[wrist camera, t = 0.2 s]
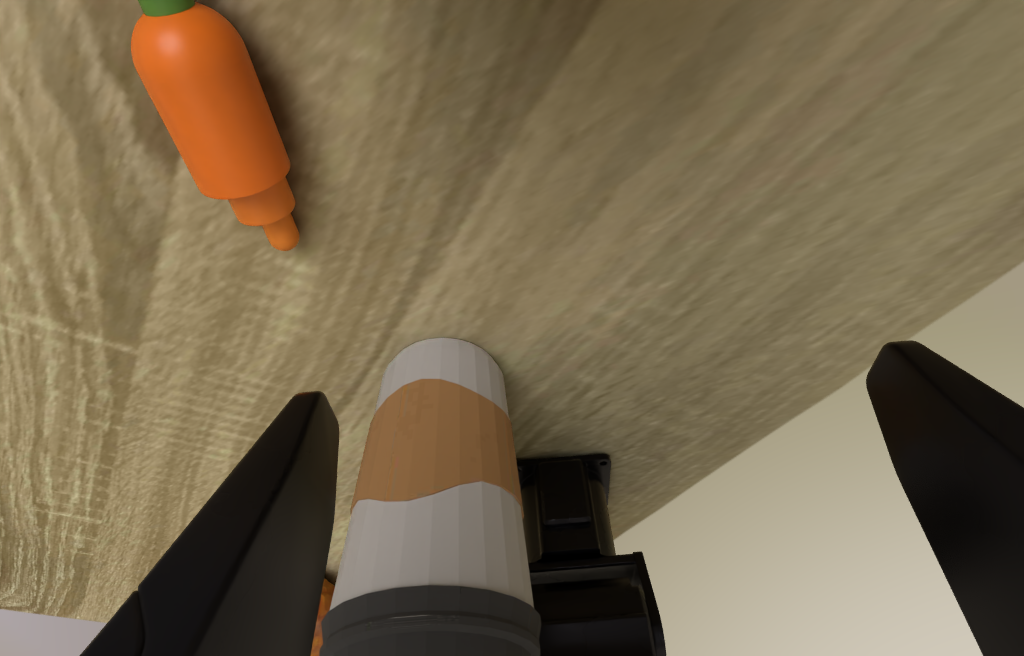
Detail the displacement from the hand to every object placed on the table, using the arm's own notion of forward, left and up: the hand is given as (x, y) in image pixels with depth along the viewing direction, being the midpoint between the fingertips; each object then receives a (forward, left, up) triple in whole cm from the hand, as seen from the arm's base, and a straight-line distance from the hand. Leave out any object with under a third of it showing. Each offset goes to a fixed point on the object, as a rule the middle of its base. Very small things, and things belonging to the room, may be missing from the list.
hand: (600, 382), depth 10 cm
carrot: (-1, +11, -15) cm, 18 cm away
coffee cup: (-16, +6, -15) cm, 23 cm away
